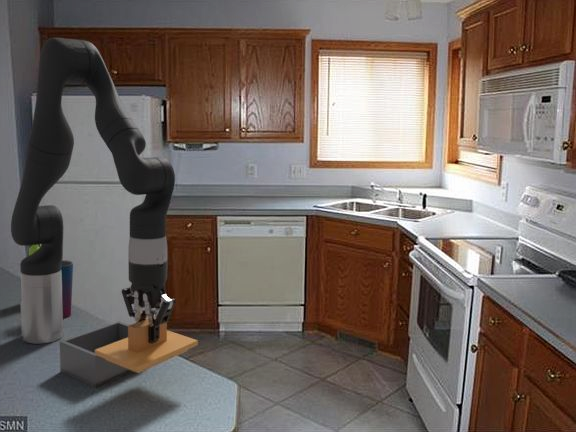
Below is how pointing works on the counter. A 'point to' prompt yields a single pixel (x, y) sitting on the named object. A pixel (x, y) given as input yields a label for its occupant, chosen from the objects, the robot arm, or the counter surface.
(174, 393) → the counter surface
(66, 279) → the cup
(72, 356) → the tub
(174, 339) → the lid
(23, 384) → the counter surface
